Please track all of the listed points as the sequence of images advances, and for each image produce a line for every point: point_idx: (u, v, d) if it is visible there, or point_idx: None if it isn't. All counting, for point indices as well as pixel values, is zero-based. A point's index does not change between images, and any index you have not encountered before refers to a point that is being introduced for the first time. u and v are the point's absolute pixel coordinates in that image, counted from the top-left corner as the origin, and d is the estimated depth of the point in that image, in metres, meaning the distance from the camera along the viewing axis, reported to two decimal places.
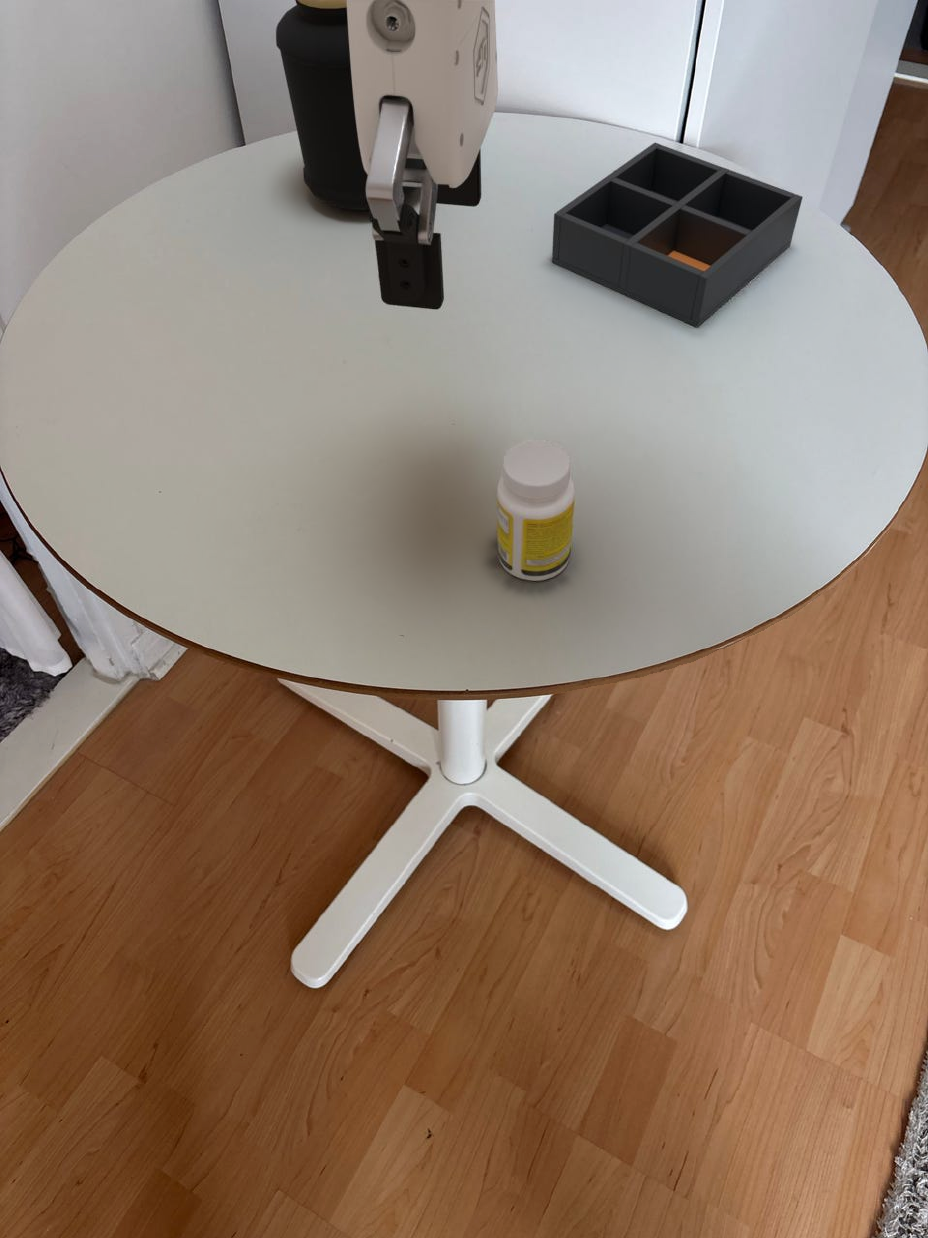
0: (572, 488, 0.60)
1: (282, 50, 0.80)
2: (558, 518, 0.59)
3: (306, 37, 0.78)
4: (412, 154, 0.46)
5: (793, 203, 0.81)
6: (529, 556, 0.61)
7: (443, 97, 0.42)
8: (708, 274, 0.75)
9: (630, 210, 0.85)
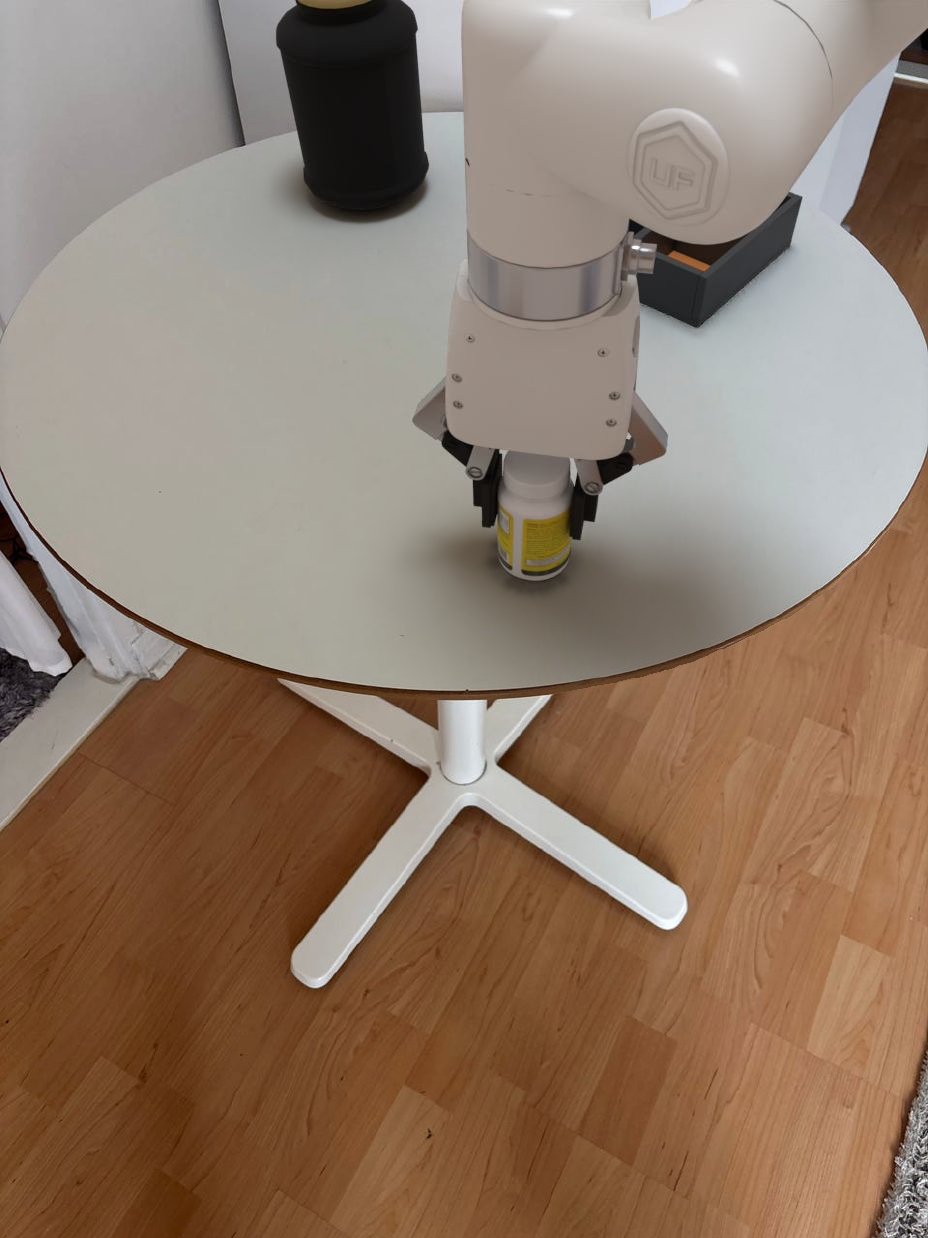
0: (572, 488, 0.60)
1: (282, 50, 0.80)
2: (558, 519, 0.59)
3: (306, 37, 0.78)
4: None
5: (793, 203, 0.81)
6: (529, 556, 0.61)
7: None
8: (708, 274, 0.75)
9: None
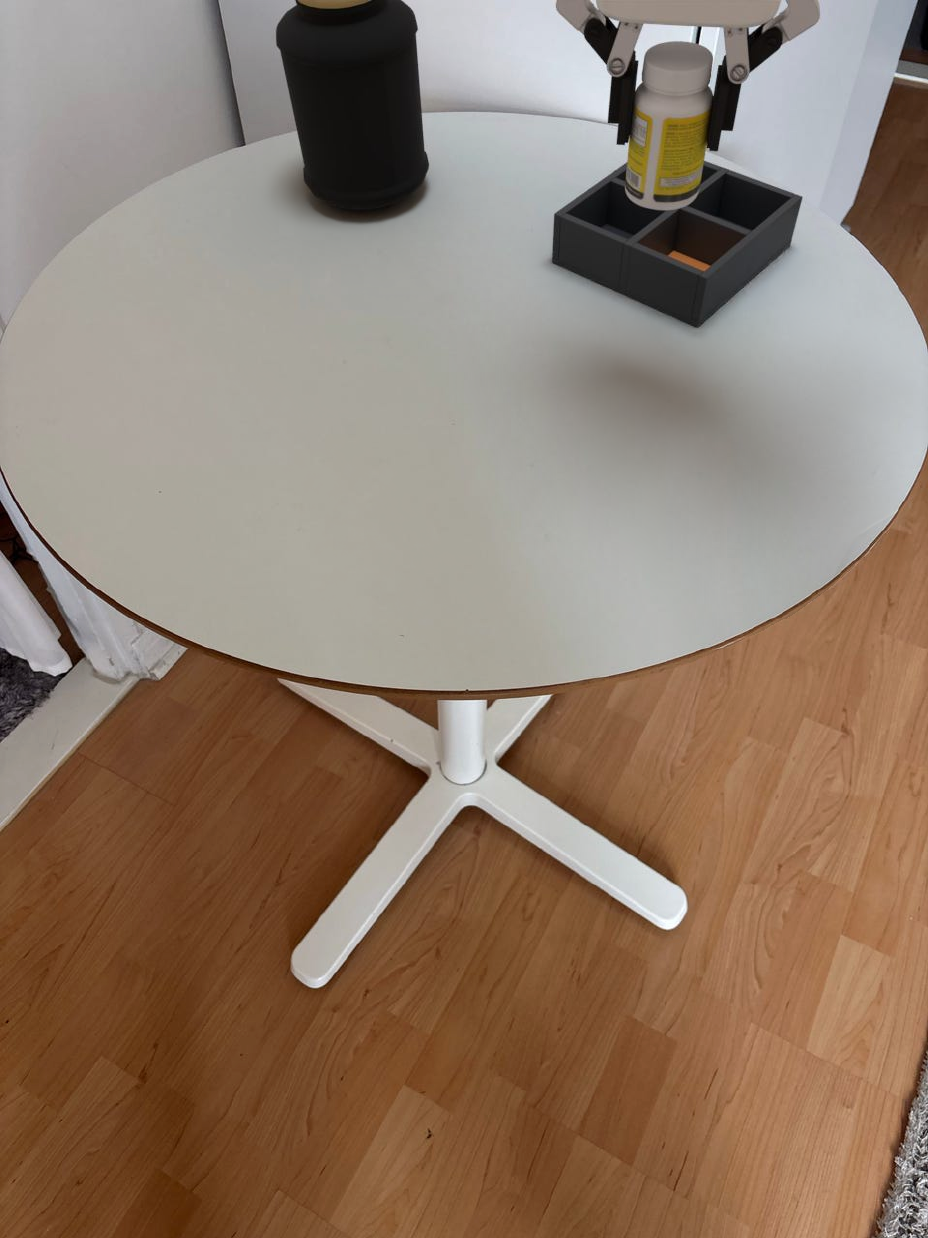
0: (711, 92, 0.59)
1: (282, 50, 0.80)
2: (699, 120, 0.58)
3: (306, 37, 0.78)
4: None
5: (793, 203, 0.81)
6: (664, 174, 0.60)
7: None
8: (708, 274, 0.75)
9: (630, 210, 0.85)
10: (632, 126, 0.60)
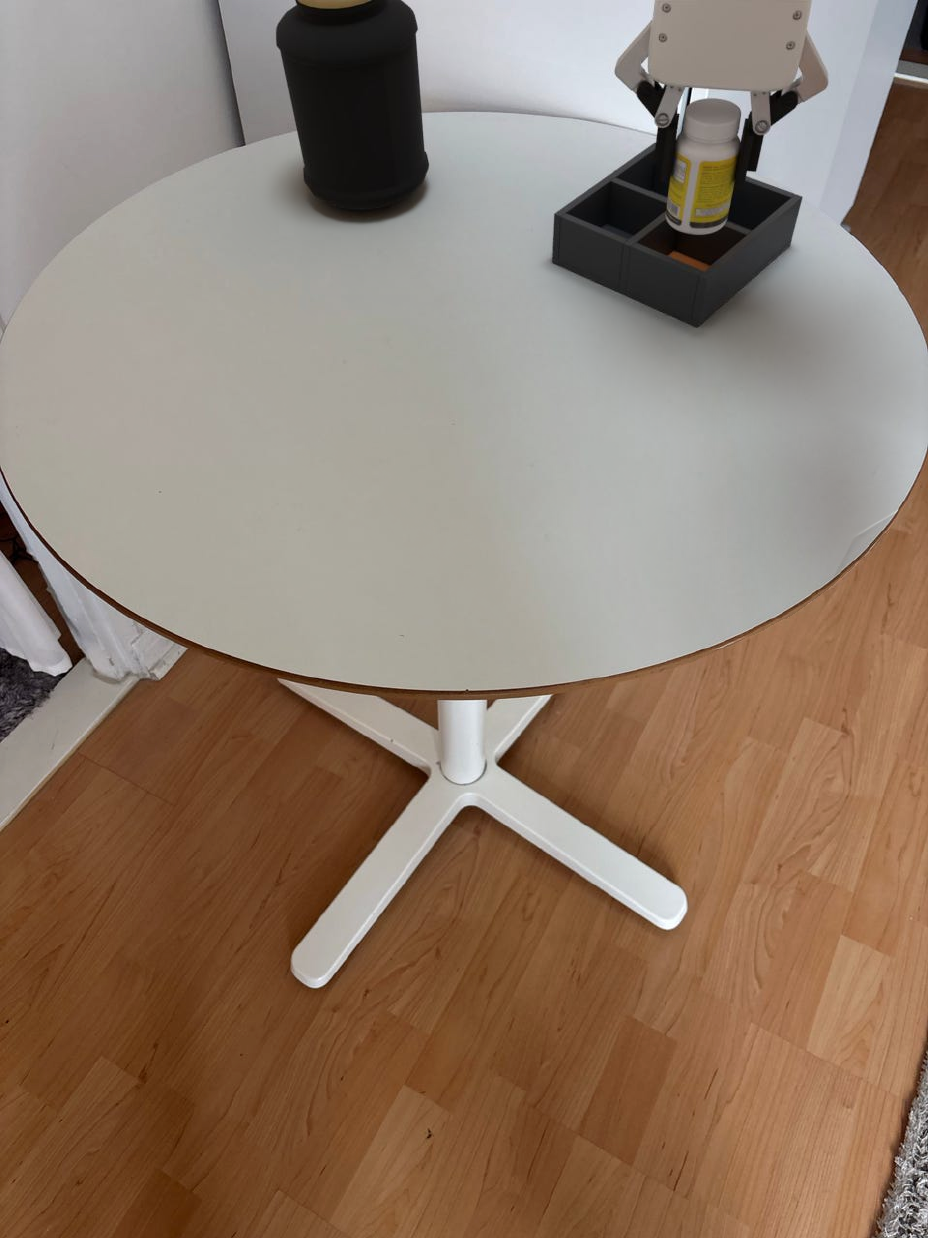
0: (739, 139, 0.72)
1: (282, 50, 0.80)
2: (728, 162, 0.71)
3: (306, 37, 0.78)
4: None
5: (793, 203, 0.81)
6: (699, 205, 0.74)
7: None
8: (708, 274, 0.75)
9: (630, 210, 0.85)
10: (673, 166, 0.73)
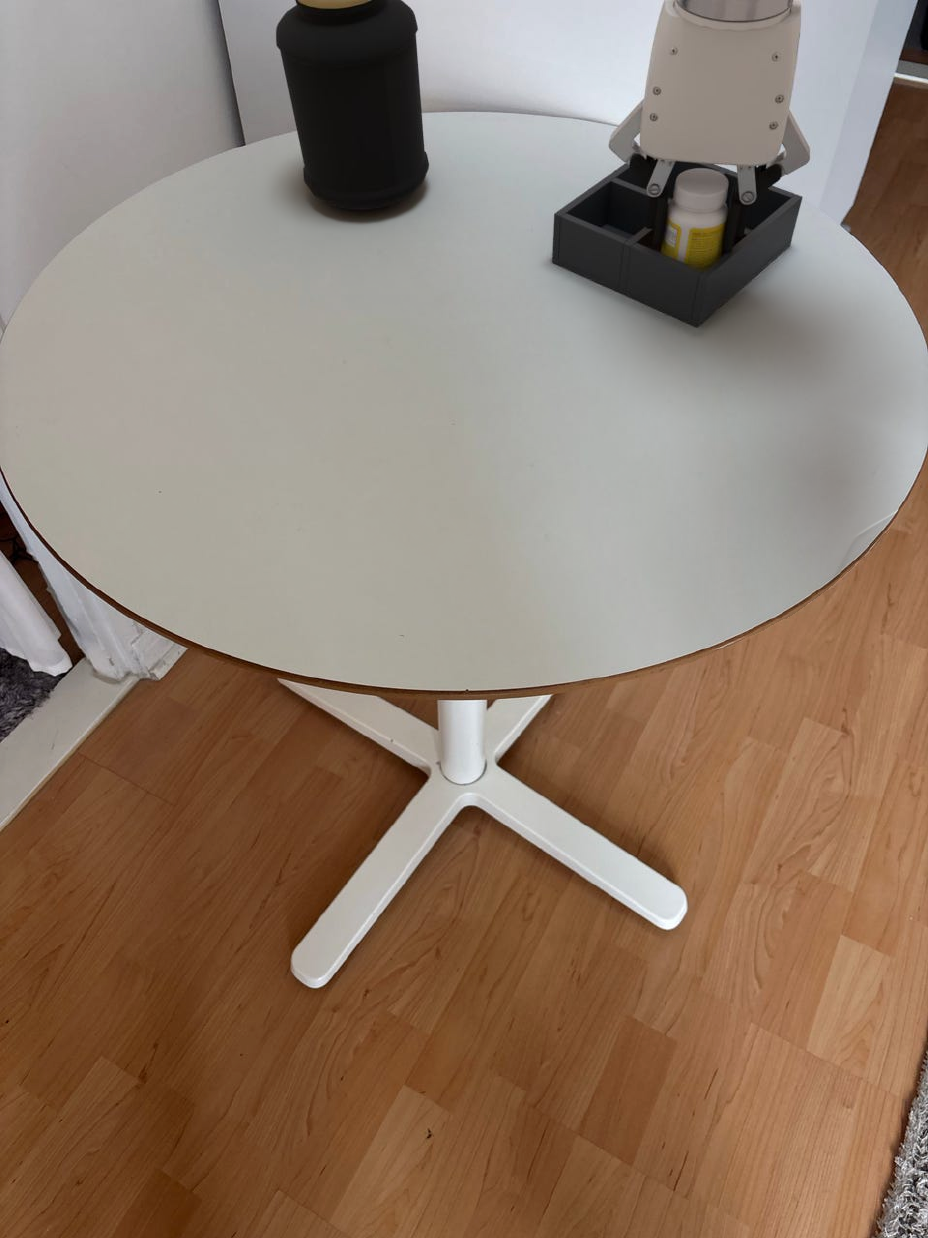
0: (727, 207, 0.76)
1: (282, 50, 0.80)
2: (717, 229, 0.76)
3: (306, 37, 0.78)
4: None
5: (793, 203, 0.81)
6: None
7: None
8: (708, 274, 0.75)
9: (630, 210, 0.85)
10: (665, 231, 0.77)
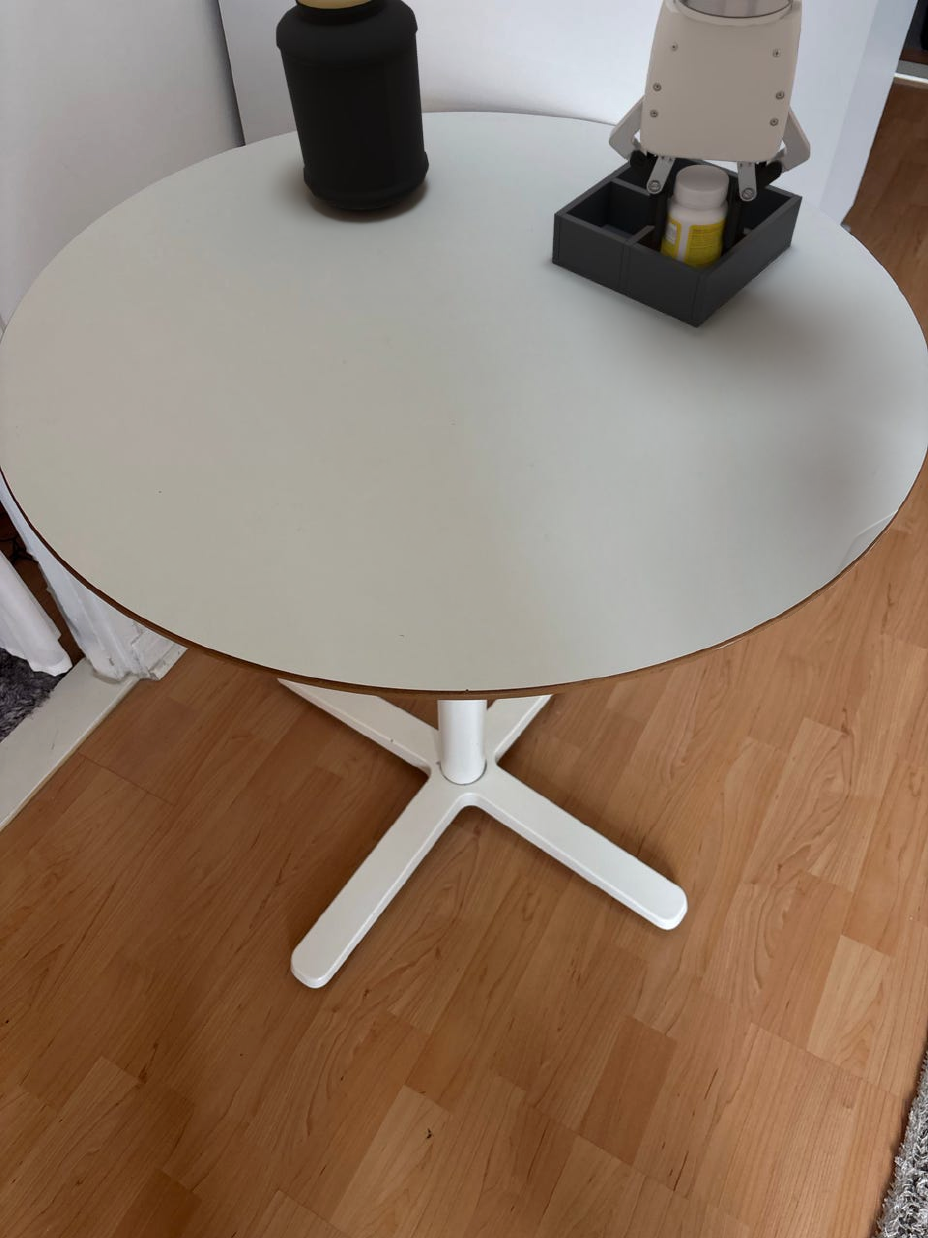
0: (727, 204, 0.76)
1: (282, 50, 0.80)
2: (717, 226, 0.75)
3: (306, 37, 0.78)
4: None
5: (793, 203, 0.81)
6: (690, 264, 0.78)
7: None
8: (708, 274, 0.75)
9: (630, 210, 0.85)
10: (665, 228, 0.77)
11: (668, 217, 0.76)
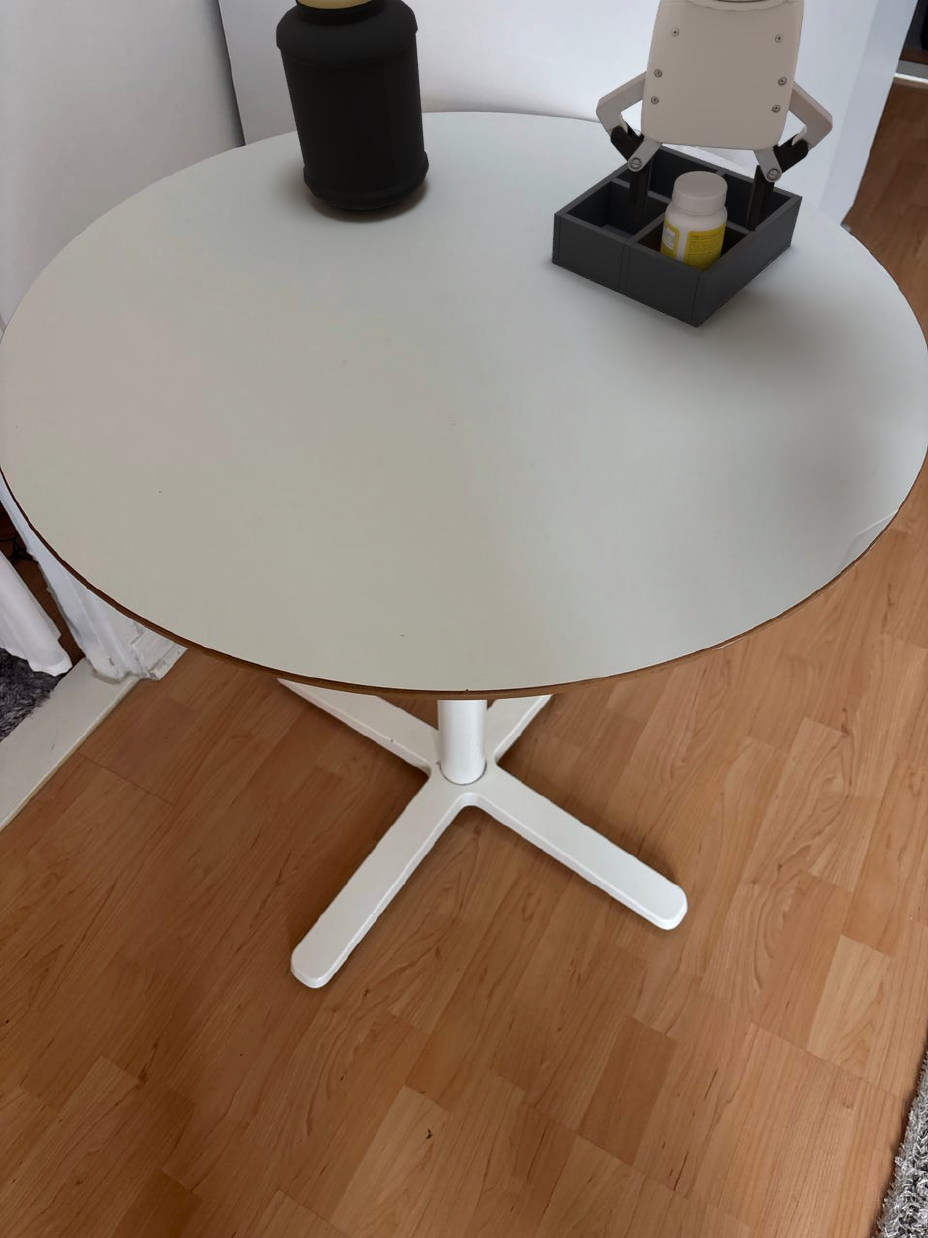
0: (726, 210, 0.76)
1: (282, 50, 0.80)
2: (715, 232, 0.76)
3: (306, 37, 0.78)
4: None
5: (793, 203, 0.81)
6: None
7: None
8: (708, 274, 0.75)
9: (630, 210, 0.85)
10: (664, 234, 0.78)
11: (666, 223, 0.77)
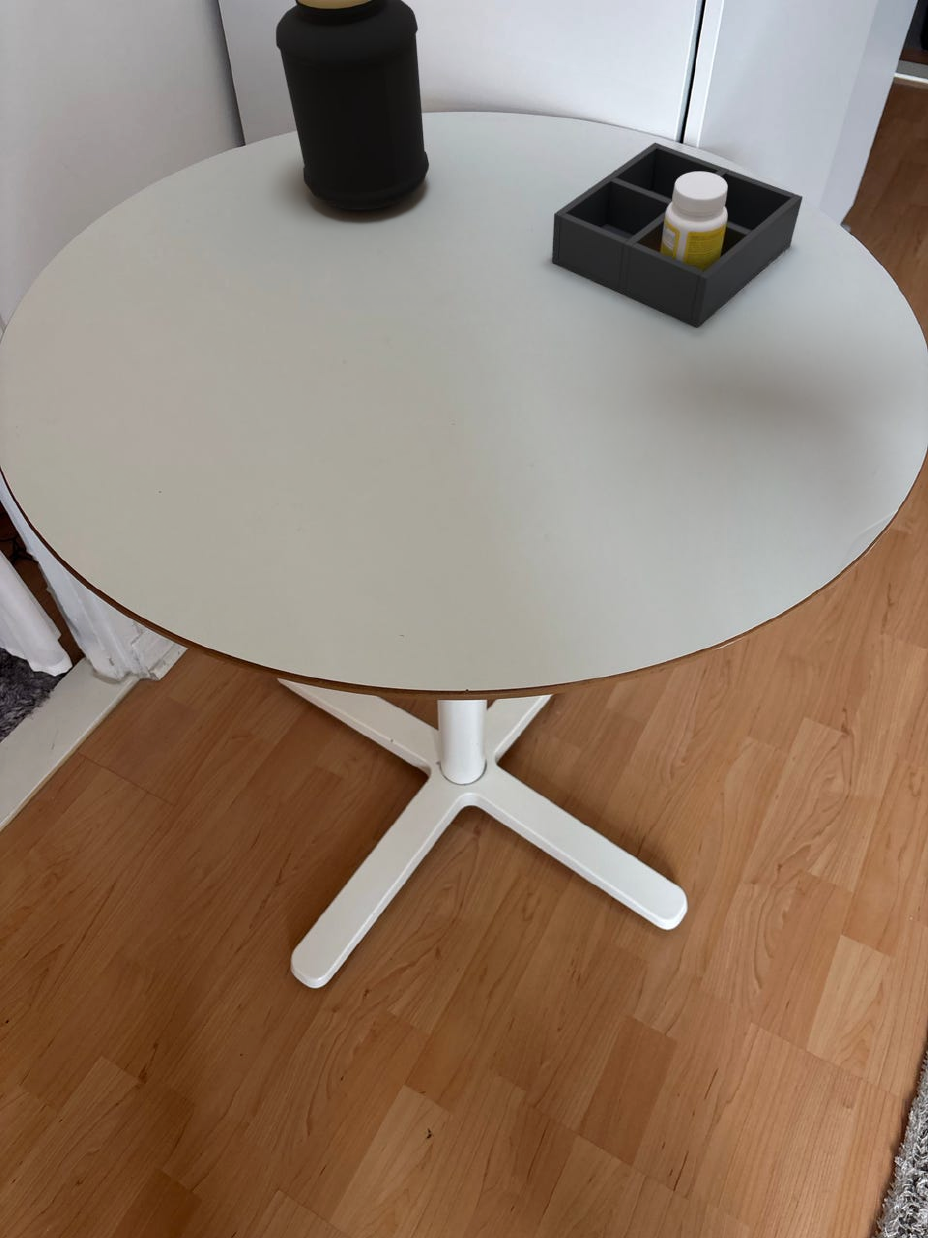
0: (726, 211, 0.76)
1: (282, 50, 0.80)
2: (715, 233, 0.76)
3: (306, 37, 0.78)
4: None
5: (793, 203, 0.81)
6: None
7: None
8: (708, 274, 0.75)
9: (630, 210, 0.85)
10: (664, 234, 0.78)
11: (667, 223, 0.77)
